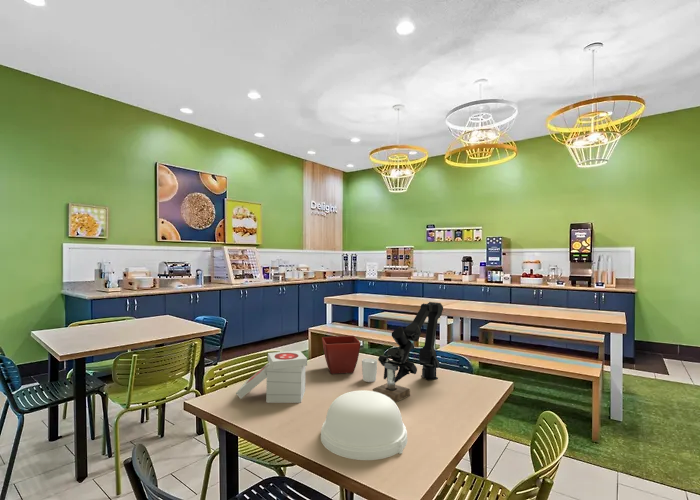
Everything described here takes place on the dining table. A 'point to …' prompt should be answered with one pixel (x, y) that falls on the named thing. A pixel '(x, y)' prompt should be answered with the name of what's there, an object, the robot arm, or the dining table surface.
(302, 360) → the pizza boxes
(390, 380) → the t key
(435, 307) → the robot arm
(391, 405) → the dome cover
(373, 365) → the white cup
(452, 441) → the dining table surface
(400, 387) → the socket block
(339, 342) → the plant pot
